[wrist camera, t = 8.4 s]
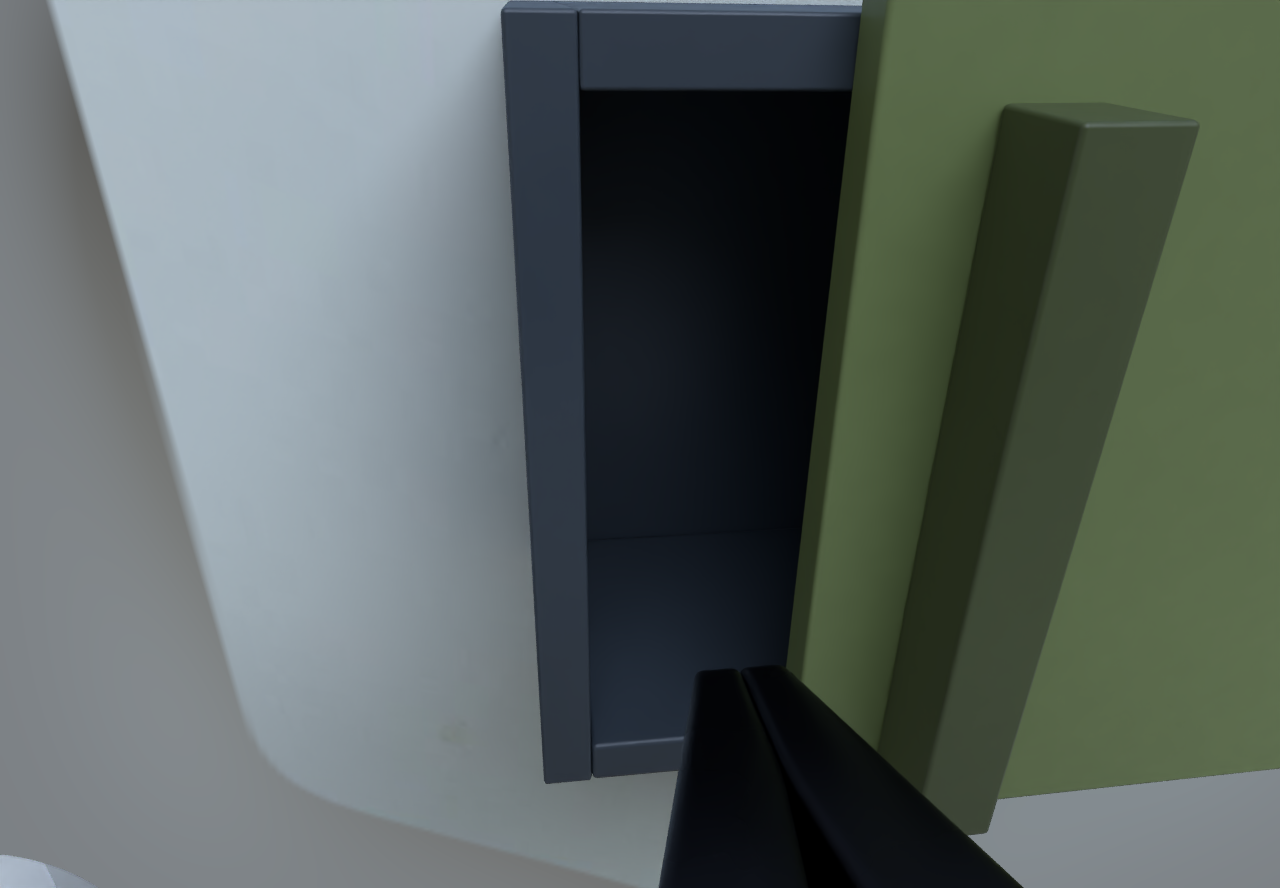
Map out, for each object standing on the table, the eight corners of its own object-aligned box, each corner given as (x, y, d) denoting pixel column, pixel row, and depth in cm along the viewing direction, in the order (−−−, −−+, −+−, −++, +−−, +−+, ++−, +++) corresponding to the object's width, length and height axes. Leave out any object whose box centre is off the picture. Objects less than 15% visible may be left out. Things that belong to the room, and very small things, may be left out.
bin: (537, 557, 20) (544, 785, 14) (507, 0, 14) (500, 6, 9) (1075, 524, 21) (1276, 717, 16) (1233, 11, 16) (1628, 24, 10)
